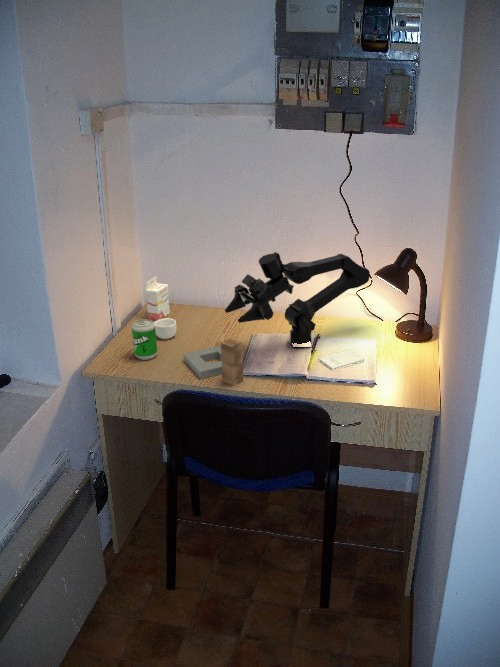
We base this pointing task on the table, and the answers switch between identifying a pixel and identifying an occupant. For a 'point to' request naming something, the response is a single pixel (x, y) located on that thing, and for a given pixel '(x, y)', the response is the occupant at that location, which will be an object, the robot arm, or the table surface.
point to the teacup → (165, 328)
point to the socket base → (200, 366)
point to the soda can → (144, 339)
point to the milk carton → (157, 299)
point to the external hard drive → (341, 359)
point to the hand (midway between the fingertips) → (231, 316)
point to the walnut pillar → (232, 361)
